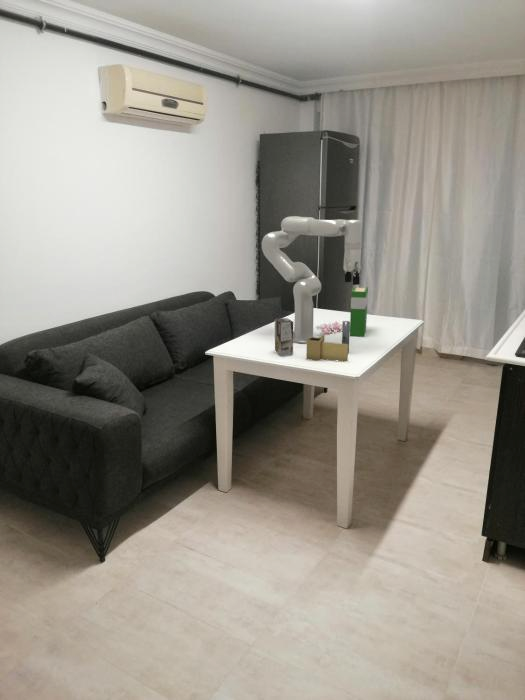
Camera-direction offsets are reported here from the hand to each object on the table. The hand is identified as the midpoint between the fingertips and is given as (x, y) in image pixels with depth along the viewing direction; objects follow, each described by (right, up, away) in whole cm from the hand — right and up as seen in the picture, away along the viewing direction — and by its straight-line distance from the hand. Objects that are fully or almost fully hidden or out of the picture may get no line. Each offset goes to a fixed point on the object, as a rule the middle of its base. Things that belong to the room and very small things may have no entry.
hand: (352, 283), depth 261 cm
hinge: (-11, -34, -6) cm, 37 cm away
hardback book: (+9, -23, +37) cm, 44 cm away
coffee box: (-33, -34, -1) cm, 47 cm away
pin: (-3, -33, -1) cm, 33 cm away
